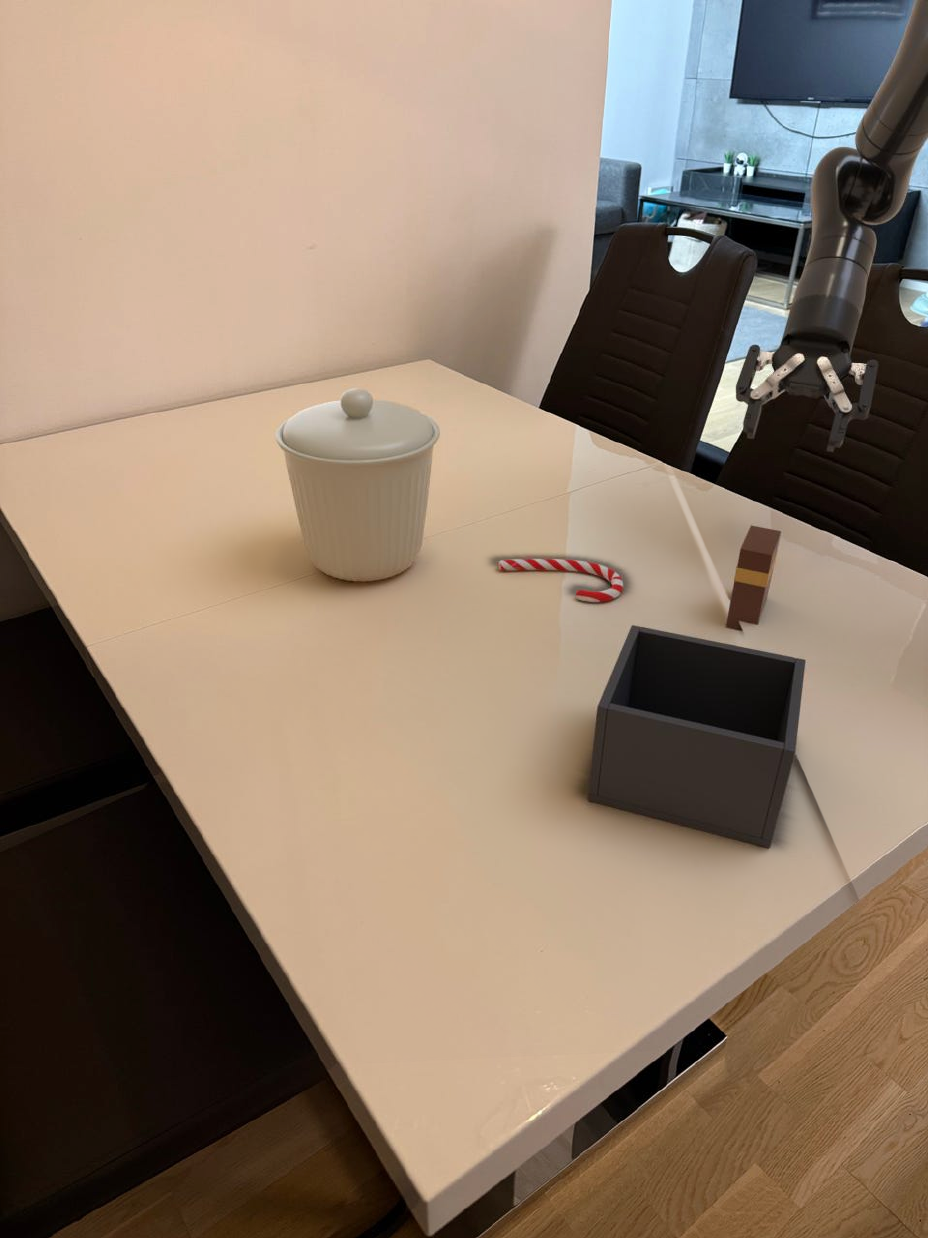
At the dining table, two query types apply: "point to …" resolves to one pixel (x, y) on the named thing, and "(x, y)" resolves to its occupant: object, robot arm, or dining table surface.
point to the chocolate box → (753, 576)
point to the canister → (360, 483)
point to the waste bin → (697, 734)
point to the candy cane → (571, 566)
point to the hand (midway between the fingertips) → (789, 441)
